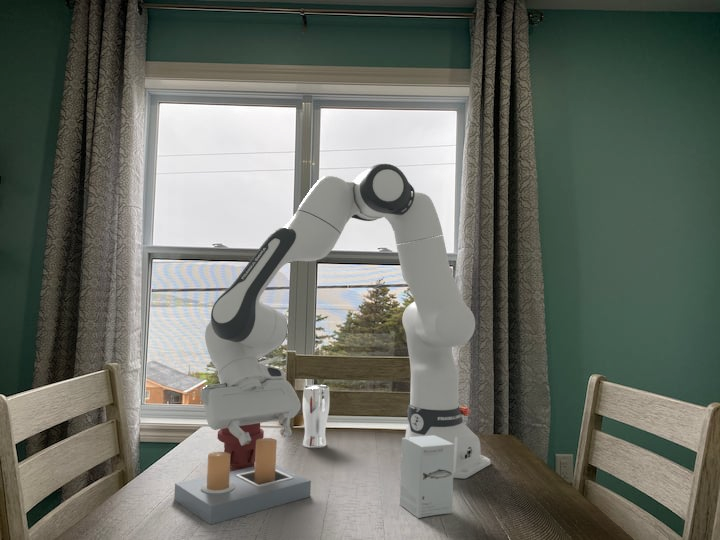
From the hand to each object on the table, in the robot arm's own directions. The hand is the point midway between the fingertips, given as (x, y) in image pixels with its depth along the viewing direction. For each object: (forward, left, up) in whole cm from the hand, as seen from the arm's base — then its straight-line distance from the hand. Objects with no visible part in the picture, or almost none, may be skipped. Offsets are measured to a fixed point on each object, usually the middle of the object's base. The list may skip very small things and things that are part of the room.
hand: (267, 439), depth 107 cm
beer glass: (-29, -22, -11) cm, 38 cm away
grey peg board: (+5, -1, -10) cm, 12 cm away
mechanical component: (-4, -17, -11) cm, 20 cm away
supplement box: (-19, +24, -11) cm, 33 cm away
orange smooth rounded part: (0, -1, -9) cm, 9 cm away
